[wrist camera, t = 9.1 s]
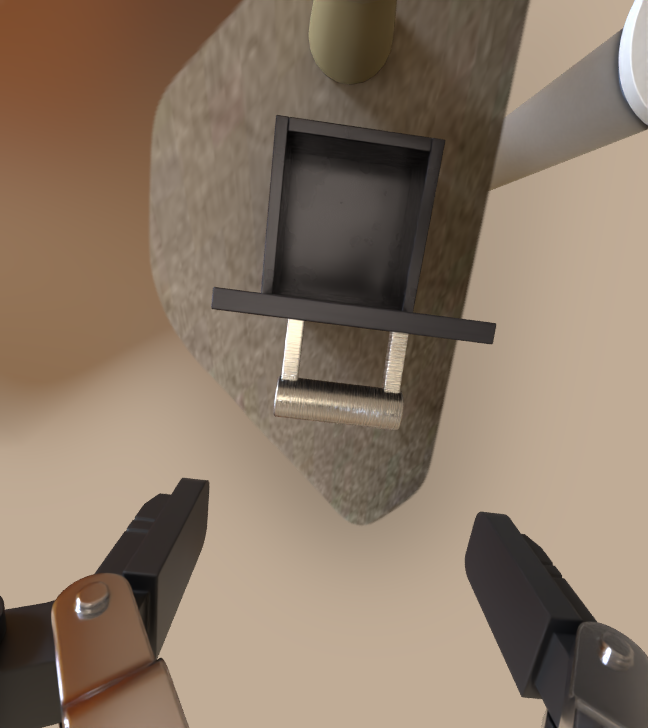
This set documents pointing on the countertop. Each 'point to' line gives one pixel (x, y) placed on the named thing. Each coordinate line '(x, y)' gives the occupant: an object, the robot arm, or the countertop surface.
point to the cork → (351, 37)
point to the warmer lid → (341, 398)
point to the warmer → (348, 213)
